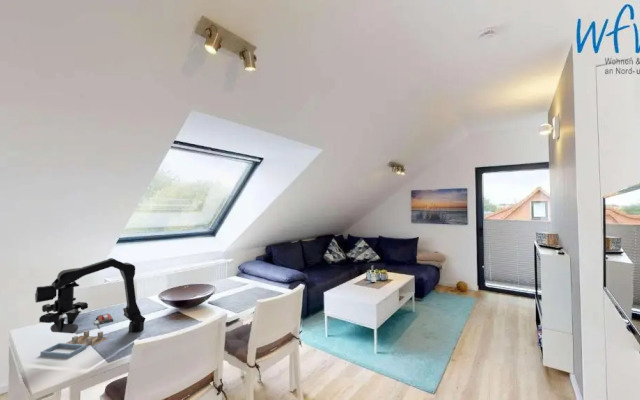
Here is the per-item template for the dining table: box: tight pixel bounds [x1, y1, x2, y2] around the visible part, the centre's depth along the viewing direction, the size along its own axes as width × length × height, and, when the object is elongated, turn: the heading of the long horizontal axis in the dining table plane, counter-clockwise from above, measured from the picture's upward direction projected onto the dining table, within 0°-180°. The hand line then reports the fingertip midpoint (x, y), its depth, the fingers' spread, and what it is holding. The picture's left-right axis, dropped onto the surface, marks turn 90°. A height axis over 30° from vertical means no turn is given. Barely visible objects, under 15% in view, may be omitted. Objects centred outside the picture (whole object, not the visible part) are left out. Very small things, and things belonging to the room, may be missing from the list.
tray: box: [40, 342, 87, 359], centre depth 135 cm, size 15×9×3 cm, turn 85°
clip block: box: [66, 330, 108, 346], centre depth 147 cm, size 16×8×4 cm, turn 85°
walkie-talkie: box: [93, 313, 114, 330], centre depth 169 cm, size 9×4×20 cm
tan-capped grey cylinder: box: [50, 322, 79, 334], centre depth 136 cm, size 11×4×4 cm, turn 85°
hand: (64, 329), depth 136 cm, fingers closed on tan-capped grey cylinder, 4 cm apart
